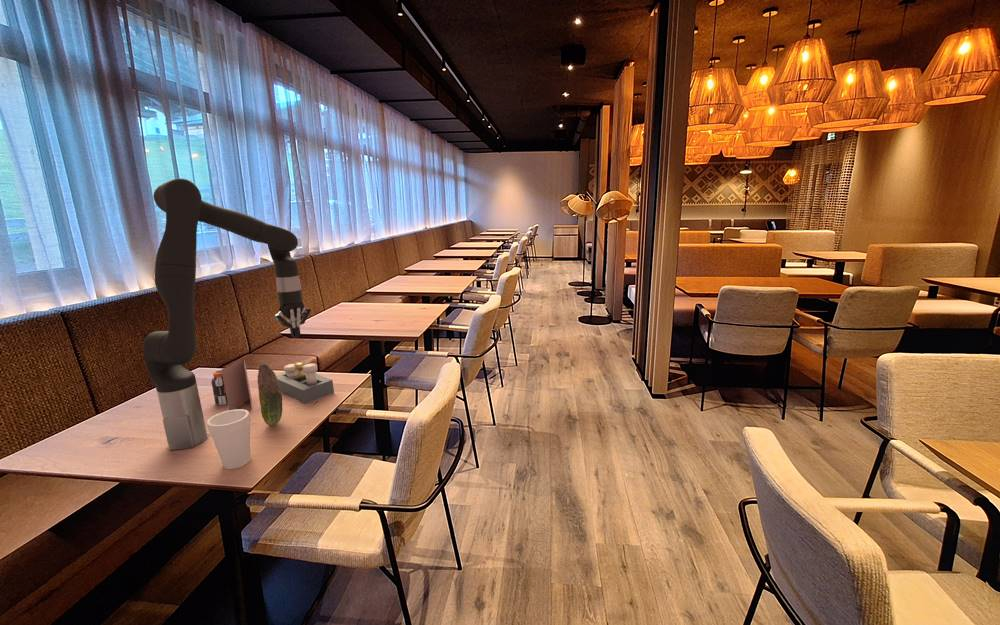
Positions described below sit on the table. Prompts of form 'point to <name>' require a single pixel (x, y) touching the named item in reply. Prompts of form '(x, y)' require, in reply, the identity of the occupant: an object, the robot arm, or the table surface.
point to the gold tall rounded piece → (300, 370)
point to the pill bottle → (219, 388)
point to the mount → (305, 388)
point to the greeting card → (236, 384)
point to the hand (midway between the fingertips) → (296, 337)
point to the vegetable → (269, 395)
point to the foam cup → (231, 437)
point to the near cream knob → (310, 373)
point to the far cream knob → (290, 370)
